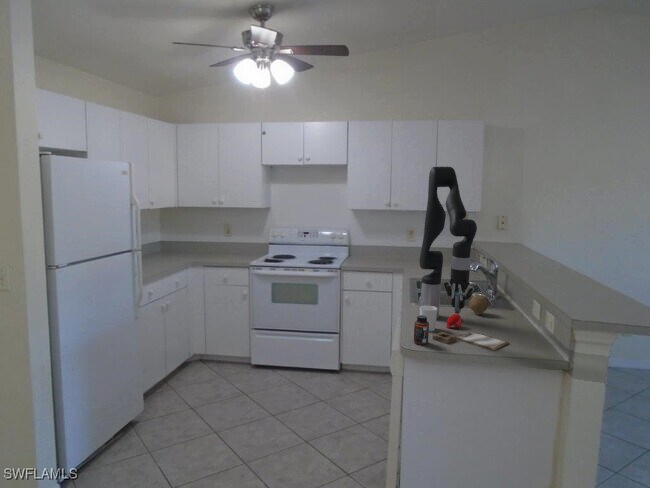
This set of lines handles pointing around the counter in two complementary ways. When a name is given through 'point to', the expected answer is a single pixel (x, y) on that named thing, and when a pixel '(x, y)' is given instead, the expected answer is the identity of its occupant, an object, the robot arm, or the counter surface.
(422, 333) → the supplement bottle
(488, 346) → the clipboard
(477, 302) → the natural sponge
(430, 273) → the robot arm
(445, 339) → the marker stand
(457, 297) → the marker
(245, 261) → the counter surface
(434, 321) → the white cup
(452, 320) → the cap
